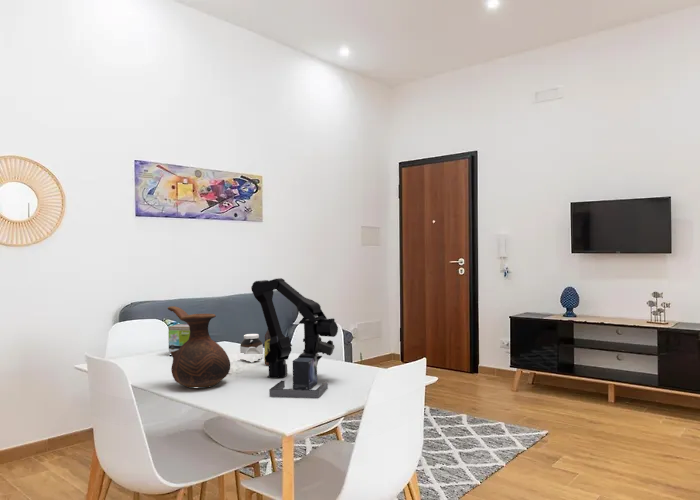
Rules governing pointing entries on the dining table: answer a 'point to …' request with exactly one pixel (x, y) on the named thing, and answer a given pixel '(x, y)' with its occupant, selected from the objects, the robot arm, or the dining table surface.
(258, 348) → the spread jar
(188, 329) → the tea box
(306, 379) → the small box
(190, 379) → the jug
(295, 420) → the dining table surface
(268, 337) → the sauce bottle
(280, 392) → the guide rails
